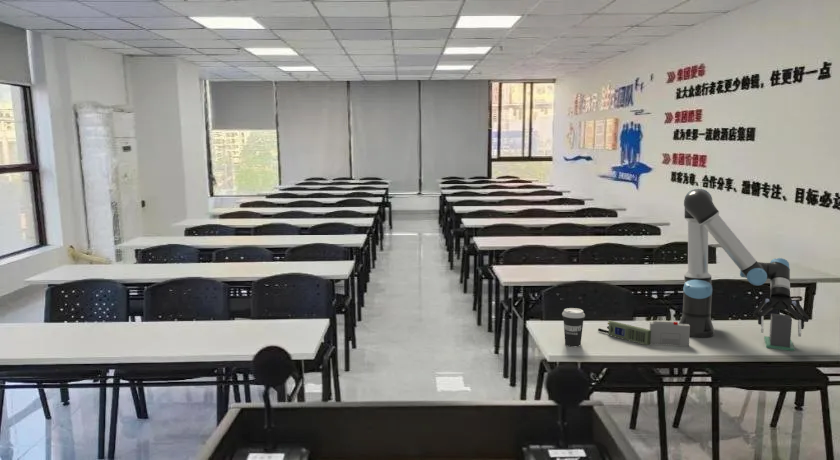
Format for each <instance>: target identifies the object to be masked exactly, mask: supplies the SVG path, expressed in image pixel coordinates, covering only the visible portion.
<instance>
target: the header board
mask: <svg viewBox="0 0 840 460" xmlns="http://www.w3.org/2000/svg"><path fill="white" fill-rule="evenodd" d="M763 339H764V343H765V348H767V349H774V350H783V351H791V352H795V346H794V344H793V341H792V338H791V339H790V347H782V346H773V345H770V342H769V336H766V335H764V337H763Z"/></svg>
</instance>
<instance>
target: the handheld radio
mask: <svg viewBox="0 0 840 460" xmlns="http://www.w3.org/2000/svg"><path fill="white" fill-rule="evenodd" d="M606 329H607V330H606ZM606 329H603V328H601V327H600V328H598V329H597V332H601V333H605V334H609V335H612V336H611V337H613V336H616V337H615V338H617V337H619V338H618V339H621V338H623V340H625V339H626V340H625V341H629V340H630V342H634V343H638V344H641V345H645V346H650V345H651V344H650V340H651V330H650V329H647V328H644V327H640V326H634V325H632V324H631V325H630V324H626V323H622V322H620V321H619V322H618V321H613V320H609V319H608V320H607V327H606ZM609 335H608V336H609Z"/></svg>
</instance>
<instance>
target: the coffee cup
mask: <svg viewBox="0 0 840 460" xmlns="http://www.w3.org/2000/svg"><path fill="white" fill-rule="evenodd" d="M561 315H562V317H563V331H564V332H563V333H564V334H563V335H564V344H565V346H567V345H570V346H569V347H571V346H577V347H580V346H581V345H582V336H583V328H584V319H585V317H586V314H585V313H584V310H583V309H581V308H577V307H575V308H574V307H569V308H568V307H567V308H564V309H563V311H562V313H561ZM579 345H580V346H579Z"/></svg>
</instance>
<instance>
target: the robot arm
mask: <svg viewBox="0 0 840 460" xmlns="http://www.w3.org/2000/svg"><path fill="white" fill-rule="evenodd" d="M683 206H684V220H686V221H687V272H686V273H685V274H683V275H684V281H683V283H684V285H683V288H682V291H683V298H682V315H681V317H680V320H679V322H678V324H689V325H690V336H689V337H692V338H693V337H694V338H711V337H713V336H714V334H715V329H714V324H713V322H712V318H711V315H712V299H713V296H712V295H713V291H714V290H713V285H712V274H711V273H709V234H710V235H711V236H712V237H713V239H714V240H715V241H716V243H717V244H718V245H719V246H720V247H721V248H722V249H723V251H724V252H725V253H726V254H727V256H728V257H729V258H730V259H731V261H732V262H733V263H734V264H735V265H736V266H737V268H738V269H739V276H740V277H741V278H745V279H747V281H748V282H749V283H750V284H751V285H753V286H762V285H764V284H766V282H767V280H769V284H770V286H769V288H770V292H769V293H770V295H769V297H770V298H767V297H766V296H762V299H761V302H760V303H759V304H758V306H757V307H756V309H755V310H754V311H753V317H755V318H757V324H758V325H760V333H764V329H765V328H764V324H765V323H764V319H765V318H764V316H766V315H767V314H769V313H770V312H771V311H773V310H774V309H775V310H781V311H785V310H786V312H788V313H790V314H791V315H792V317H794V318H795V319H796V320H797V321H798V322H797V335H798V337H802V330H804V328H805V323H808V322H809V319H810V317H809V316H808V314H807V313H806V311H805V309H804V308H803V307H802V305H801V303H800V300H799V299H796V300H792V299H791V268H790V262H789V260H787V259H785V258H782V257H778V258H773V259H771V260H770V262H761V261H760V262H758V261H757V260H756V258H755V257H754V256H753V254H752V253H751V252H750V251H749V250H748V248H746V247H745V245H744V244H743V242H741V240H740V239H739V237H737V235H736V234H735V233H734V231H732V230H731V228H730V227H729V225H727V223H726V222H725V221H724V220H723V219H722V217H721V216H720V211H719V210H718V208H717V207H716V206H715V203H714V202H713V196H712V194H710V192H709V191H707V190H706V189H704V188H703V189H702V188H694V189H692V190H690V191H689V192H687V193H686V195H685V196H684V200H683ZM767 303H769V305H768V306H767V307H766V308H764V306H765V305H766V304H767ZM792 305H793V306H794V307H795V308H793V306H792ZM763 308H764V309H763ZM762 309H763V310H762ZM795 309H796V310H795Z"/></svg>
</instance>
